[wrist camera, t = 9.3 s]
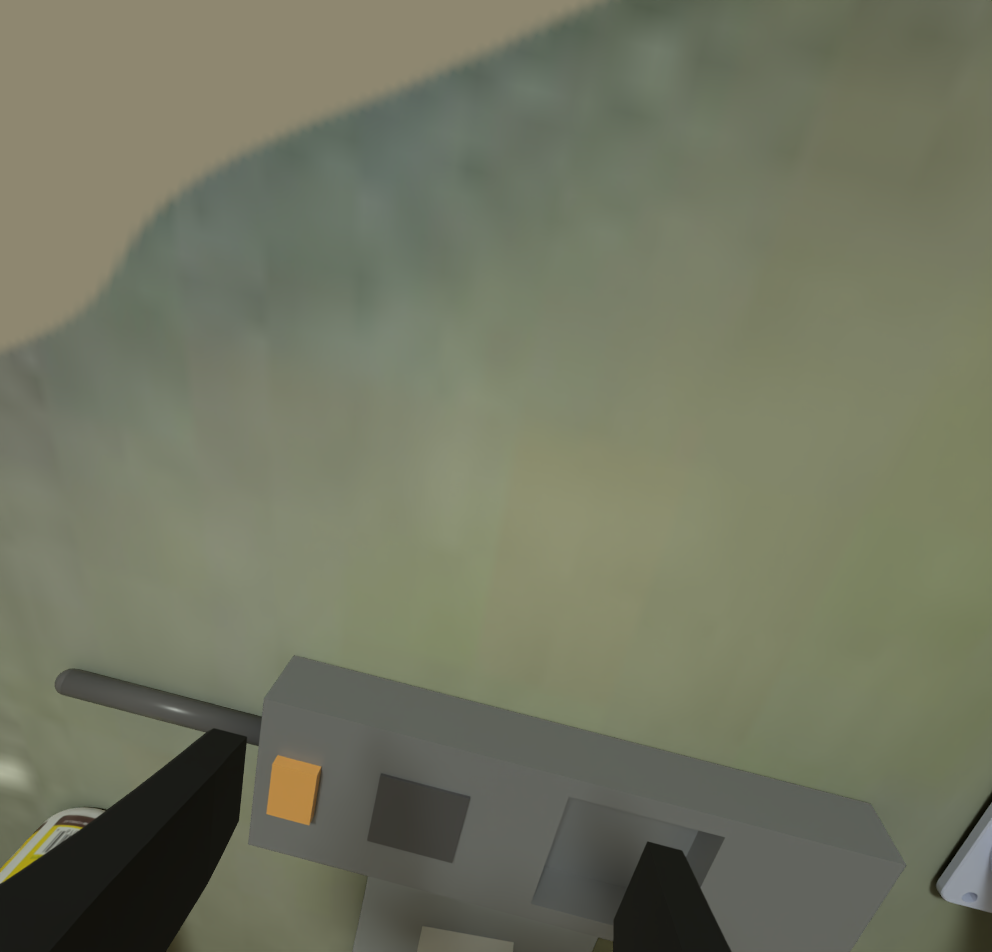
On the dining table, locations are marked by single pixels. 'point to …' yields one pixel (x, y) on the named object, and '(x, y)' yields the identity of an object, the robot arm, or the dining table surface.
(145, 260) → the dining table surface
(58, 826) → the supplement bottle
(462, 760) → the power strip
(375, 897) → the pad
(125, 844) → the robot arm
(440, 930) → the block
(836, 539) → the dining table surface
